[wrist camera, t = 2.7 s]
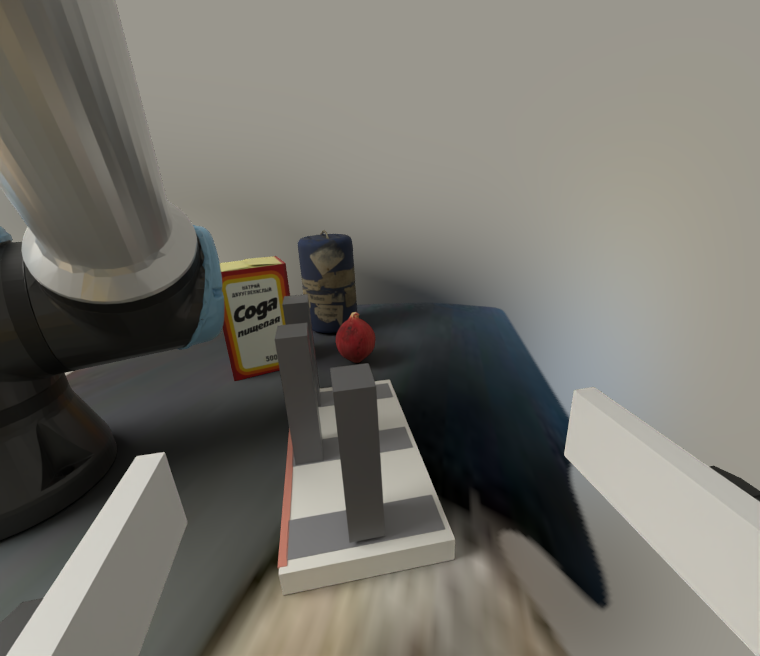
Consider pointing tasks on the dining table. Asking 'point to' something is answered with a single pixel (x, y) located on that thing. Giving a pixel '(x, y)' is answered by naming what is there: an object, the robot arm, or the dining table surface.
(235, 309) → the baking soda box
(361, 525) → the block
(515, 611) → the dining table surface
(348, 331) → the pomegranate
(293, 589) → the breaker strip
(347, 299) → the dark blue cylinder
